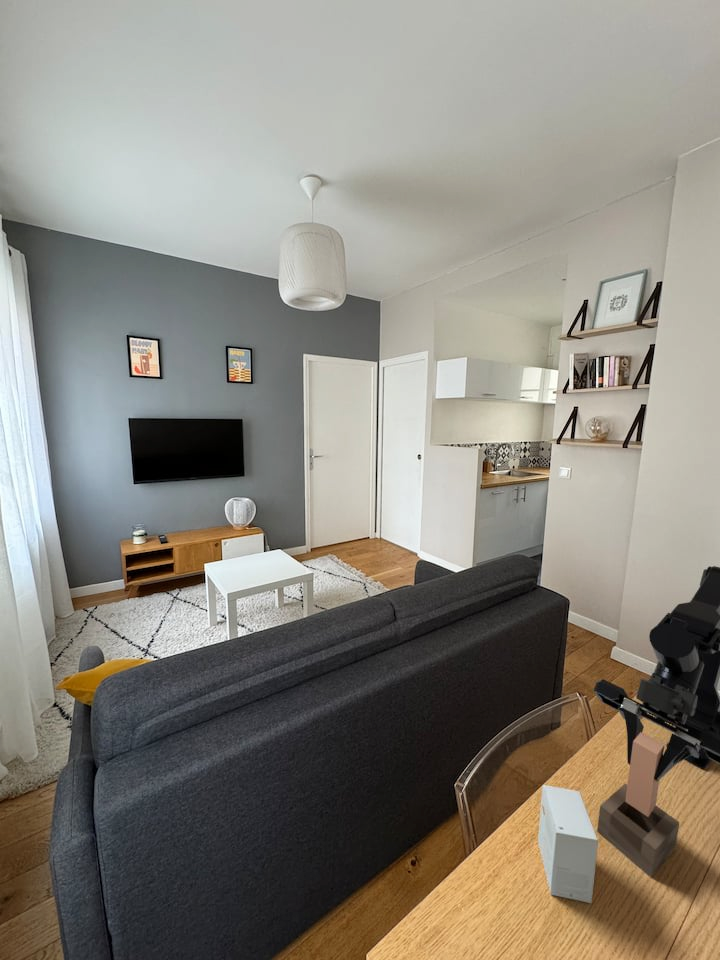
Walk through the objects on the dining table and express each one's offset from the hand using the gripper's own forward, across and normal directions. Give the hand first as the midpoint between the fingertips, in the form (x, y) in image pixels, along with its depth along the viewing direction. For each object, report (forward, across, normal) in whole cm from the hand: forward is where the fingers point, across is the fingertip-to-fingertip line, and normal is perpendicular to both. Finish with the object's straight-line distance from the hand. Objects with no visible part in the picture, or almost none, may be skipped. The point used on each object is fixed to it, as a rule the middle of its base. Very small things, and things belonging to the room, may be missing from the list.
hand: (642, 772), depth 63 cm
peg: (+4, 0, +6) cm, 7 cm away
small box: (+19, -5, +1) cm, 19 cm away
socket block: (+9, 0, +10) cm, 13 cm away
